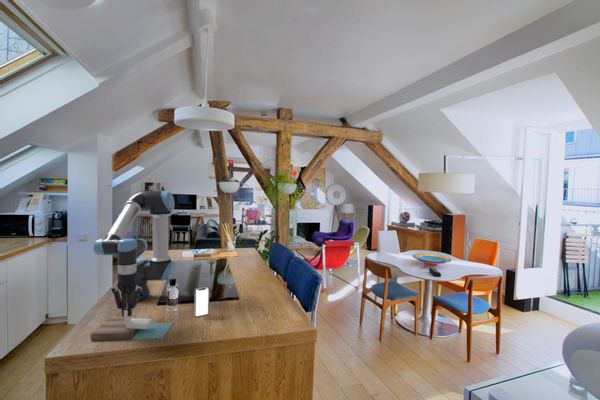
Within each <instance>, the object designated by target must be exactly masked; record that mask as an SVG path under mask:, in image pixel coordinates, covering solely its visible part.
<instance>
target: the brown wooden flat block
mask: <svg viewBox="0 0 600 400" xmlns="http://www.w3.org/2000/svg"><path fill="white" fill-rule="evenodd" d="M140 318H141V317H140ZM141 319H144V318H141ZM125 327H126V324H124V318H107V319H106V320H105V321H104V322H103V323H102V324H101V325H99V326H98V327H97V328H96V329H95V330H93V331H92V332H91V333H90V341H92V342H93V341H94V342H95V341H129V340H132V338H133V337H134V336H135V335H136V333H137V332H138V331H139V330H140V329H133V328H125Z"/></svg>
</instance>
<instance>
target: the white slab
mask: <svg viewBox="0 0 600 400" xmlns="http://www.w3.org/2000/svg"><path fill="white" fill-rule="evenodd" d="M151 323H152V318H143V319H141V317H140V318H137V317H135V318H134V317H133V318H132V317H130V320H129V321H128V322H127V323H126V327H125V328H133V329H139V330H140V329H147V327H148V326H149V325H150V324H151Z"/></svg>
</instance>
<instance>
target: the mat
mask: <svg viewBox="0 0 600 400" xmlns="http://www.w3.org/2000/svg"><path fill="white" fill-rule="evenodd" d="M173 324H174V323H173V322H151V324H150V325H149V326H148V327H147V329H139V330H138V331H137V332H136V333H135V334H134V335H133V336H132V337H131V341H132V340H135V341H137V340H163V339H164V338H165V336H166V335H167V333H168V331H169V330H170V329H171V328H172V326H173Z"/></svg>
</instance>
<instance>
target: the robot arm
mask: <svg viewBox="0 0 600 400" xmlns="http://www.w3.org/2000/svg"><path fill="white" fill-rule="evenodd" d="M122 207H123V208H122V210H121V211H120V213H119V215H118V217H117V218H116V219H115V221H114V223H113V224H112V226H111V227H110V229H109V231H108V233H107V234H106V236H105V237H104V238H101V239H96V240H95V242H94V244H93V252H94V254H95V255H97V256H98V255H99V256H117V284H116V286H114V287H113V288H111V292H112V293H113V295H114V296H113V297H114V299H115V304H116V308H117V309H119V310H121V316H122V318H123V319H124V324H126V323H127V322H128V321H129V320H130V319H131V317H132V315H133V309H135V308H136V307H137V305H138V302H140V301H144V300H148V299H149V298H150V297H151V290H150V288H149V285H148V281H157V282H159V281H160V282H164V281H169V280H170V279H171V278H172V276H173V273H174V270H175V261H174V260H172V257H171V256H170V255H169V216H170V215H172V212H174V210H175V197H174V195H173V193H172V192H170V191H165V190H141V191H138V192H136V193H134V194H133V195H131V196H129V197H128V198H127V199H126V201H125V202H124V203H123V206H122ZM143 211H149V216H151V217H152V256H151V257H150V258H149V259H148V257H137V256H139V255H141V254H143V253H144V252H146V251H147V250H148V242H147V241H146V239H144V238H125V237H126V235H127V233H128V232H129V229H130V228H131V227H132V224H133V222H134V221H135V219H136V217H137V216H138V215H139V214H141V213H142V212H143Z"/></svg>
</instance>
